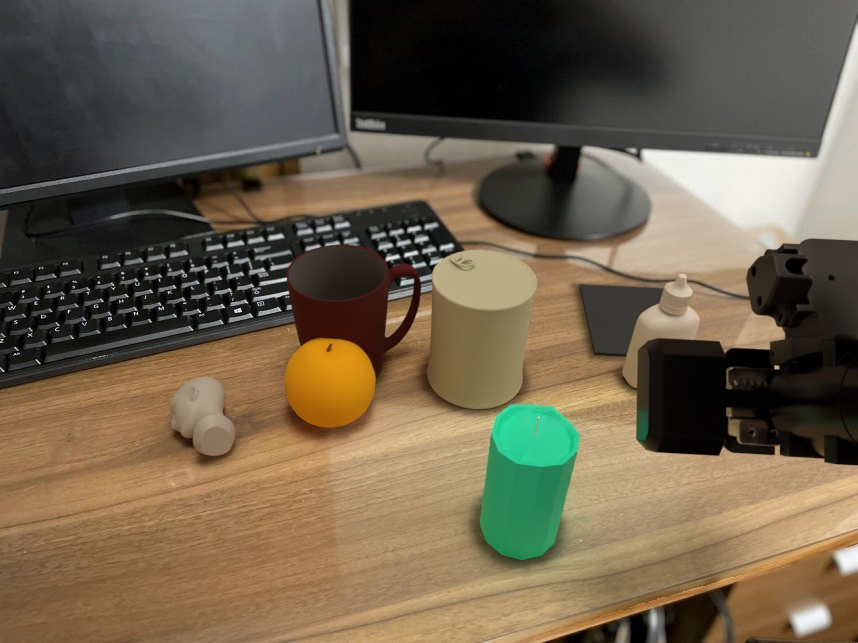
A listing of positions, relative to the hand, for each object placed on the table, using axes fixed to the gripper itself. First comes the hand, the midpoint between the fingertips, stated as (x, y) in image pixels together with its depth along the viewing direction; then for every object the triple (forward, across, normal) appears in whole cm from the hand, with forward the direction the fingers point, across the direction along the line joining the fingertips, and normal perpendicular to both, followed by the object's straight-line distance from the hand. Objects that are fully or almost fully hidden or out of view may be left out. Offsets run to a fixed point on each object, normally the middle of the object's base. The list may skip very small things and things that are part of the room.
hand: (743, 402), depth 45 cm
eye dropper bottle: (+20, 0, -2) cm, 20 cm away
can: (+20, +17, -2) cm, 26 cm away
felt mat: (+26, 0, -9) cm, 28 cm away
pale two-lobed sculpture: (+13, +41, +5) cm, 43 cm away
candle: (+8, +14, +10) cm, 19 cm away
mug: (+20, +28, -2) cm, 35 cm away
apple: (+16, +30, +2) cm, 34 cm away
